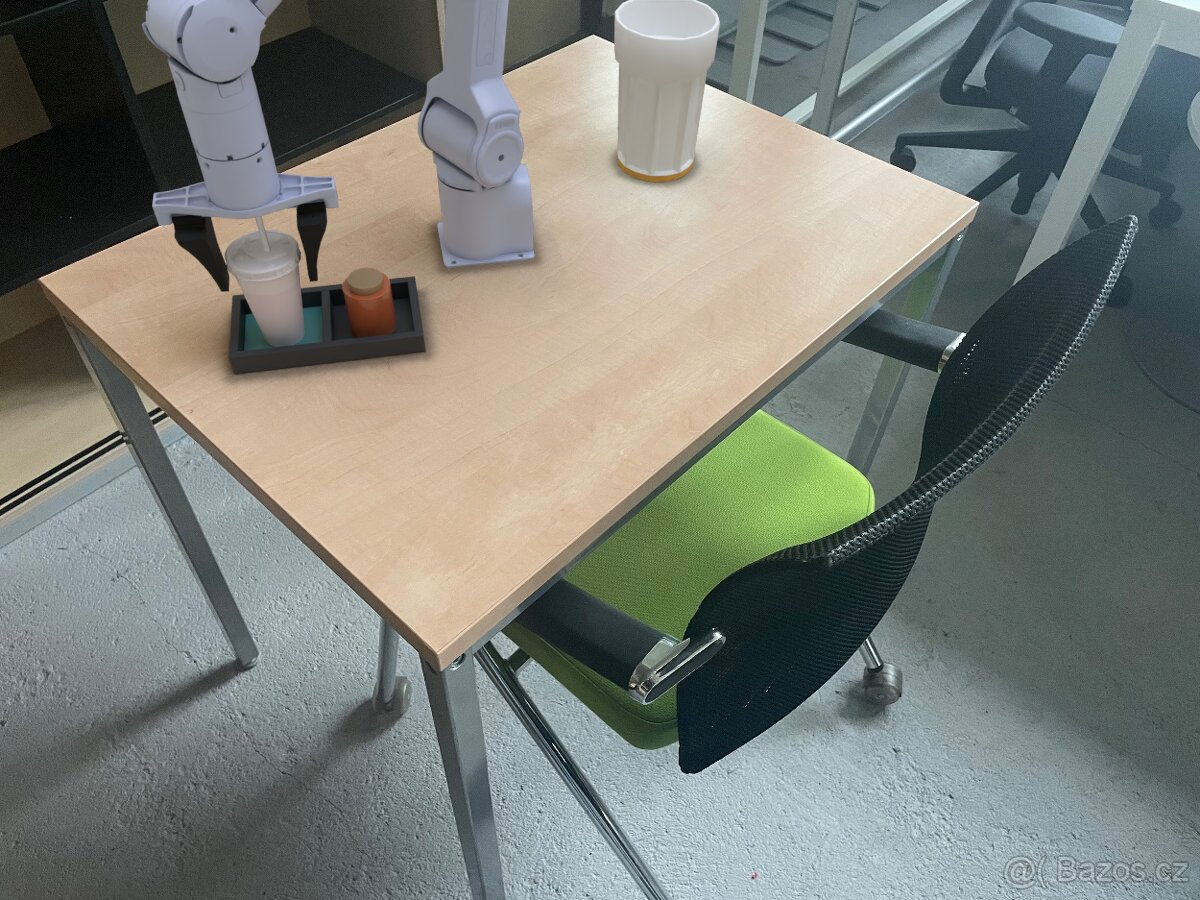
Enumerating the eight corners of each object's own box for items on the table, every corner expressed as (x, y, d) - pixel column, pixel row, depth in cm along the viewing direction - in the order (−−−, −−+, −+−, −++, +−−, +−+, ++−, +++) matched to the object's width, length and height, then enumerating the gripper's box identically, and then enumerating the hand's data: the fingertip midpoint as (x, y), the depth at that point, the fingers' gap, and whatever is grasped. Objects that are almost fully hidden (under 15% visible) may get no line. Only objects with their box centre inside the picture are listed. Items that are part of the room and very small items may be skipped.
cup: (589, 168, 113) (594, 20, 100) (637, 128, 120) (647, -15, 107) (673, 198, 109) (688, 49, 96) (718, 155, 116) (738, 11, 103)
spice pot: (395, 309, 94) (387, 261, 90) (398, 338, 91) (390, 290, 87) (349, 314, 93) (339, 266, 89) (351, 343, 90) (341, 295, 86)
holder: (238, 314, 93) (232, 295, 91) (417, 294, 96) (414, 275, 94) (235, 377, 87) (228, 358, 85) (426, 354, 90) (423, 335, 88)
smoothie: (303, 361, 88) (270, 235, 78) (238, 351, 89) (196, 224, 78) (329, 318, 92) (300, 192, 82) (266, 308, 93) (230, 182, 83)
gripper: (323, 109, 80) (349, 244, 90) (139, 124, 77) (187, 262, 87) (326, 153, 75) (354, 290, 85) (131, 171, 72) (183, 310, 82)
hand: (269, 279), depth 86 cm, fingers open, 7 cm apart
